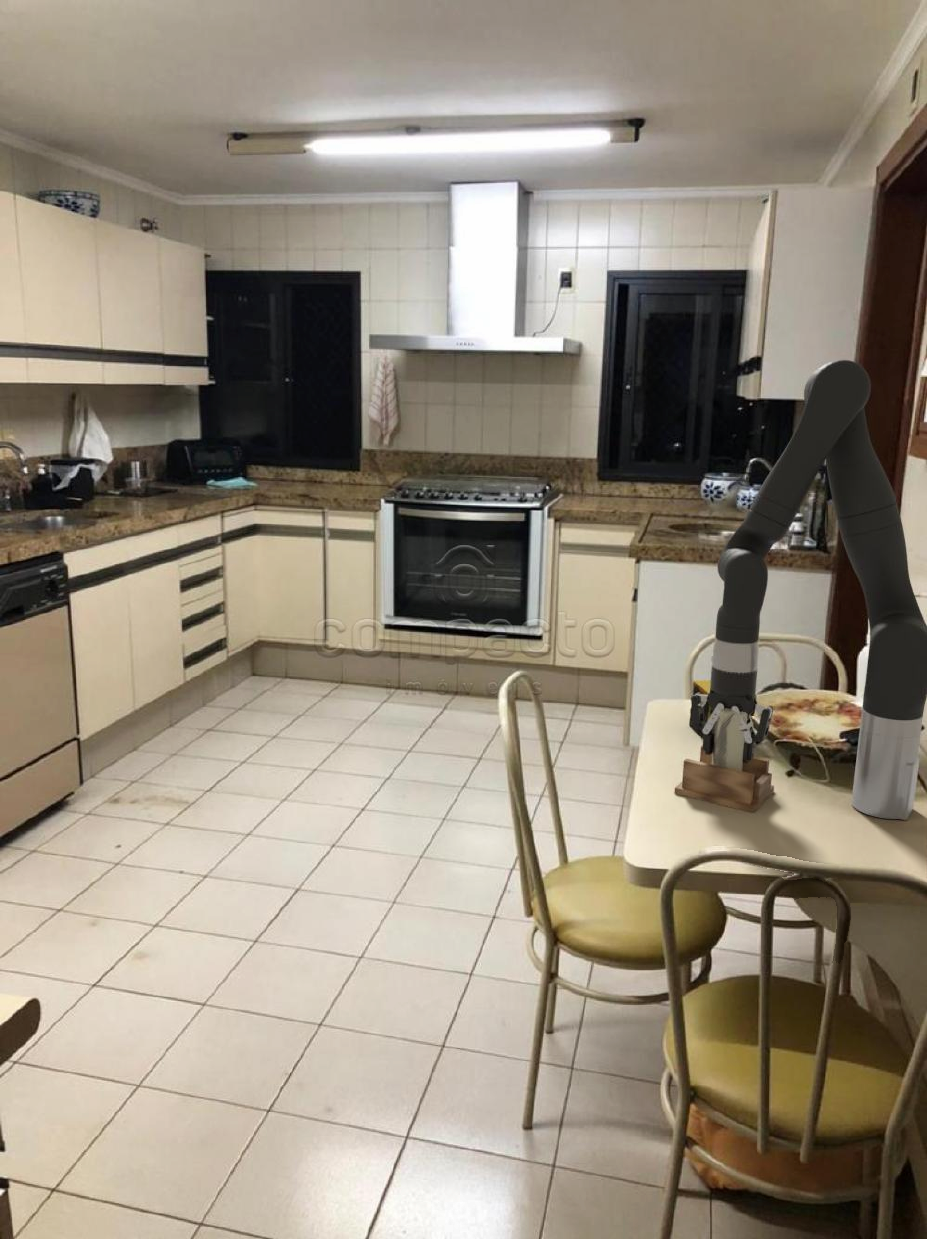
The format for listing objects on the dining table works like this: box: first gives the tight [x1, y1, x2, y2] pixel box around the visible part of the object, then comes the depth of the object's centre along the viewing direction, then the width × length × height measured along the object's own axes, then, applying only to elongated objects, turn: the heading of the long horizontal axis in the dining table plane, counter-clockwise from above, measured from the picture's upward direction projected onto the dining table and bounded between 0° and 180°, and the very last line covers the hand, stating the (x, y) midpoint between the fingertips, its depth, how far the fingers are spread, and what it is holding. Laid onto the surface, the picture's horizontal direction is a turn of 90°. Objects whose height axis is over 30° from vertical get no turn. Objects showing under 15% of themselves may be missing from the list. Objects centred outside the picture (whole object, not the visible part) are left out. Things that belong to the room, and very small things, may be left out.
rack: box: [673, 744, 775, 814], centre depth 168 cm, size 14×11×6 cm
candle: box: [688, 679, 758, 739], centre depth 197 cm, size 10×10×10 cm
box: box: [712, 708, 747, 771], centre depth 166 cm, size 5×4×13 cm
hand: (727, 757), depth 167 cm, fingers closed on box, 6 cm apart
